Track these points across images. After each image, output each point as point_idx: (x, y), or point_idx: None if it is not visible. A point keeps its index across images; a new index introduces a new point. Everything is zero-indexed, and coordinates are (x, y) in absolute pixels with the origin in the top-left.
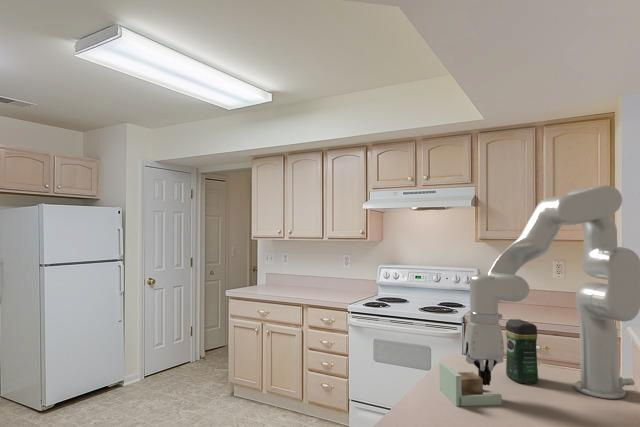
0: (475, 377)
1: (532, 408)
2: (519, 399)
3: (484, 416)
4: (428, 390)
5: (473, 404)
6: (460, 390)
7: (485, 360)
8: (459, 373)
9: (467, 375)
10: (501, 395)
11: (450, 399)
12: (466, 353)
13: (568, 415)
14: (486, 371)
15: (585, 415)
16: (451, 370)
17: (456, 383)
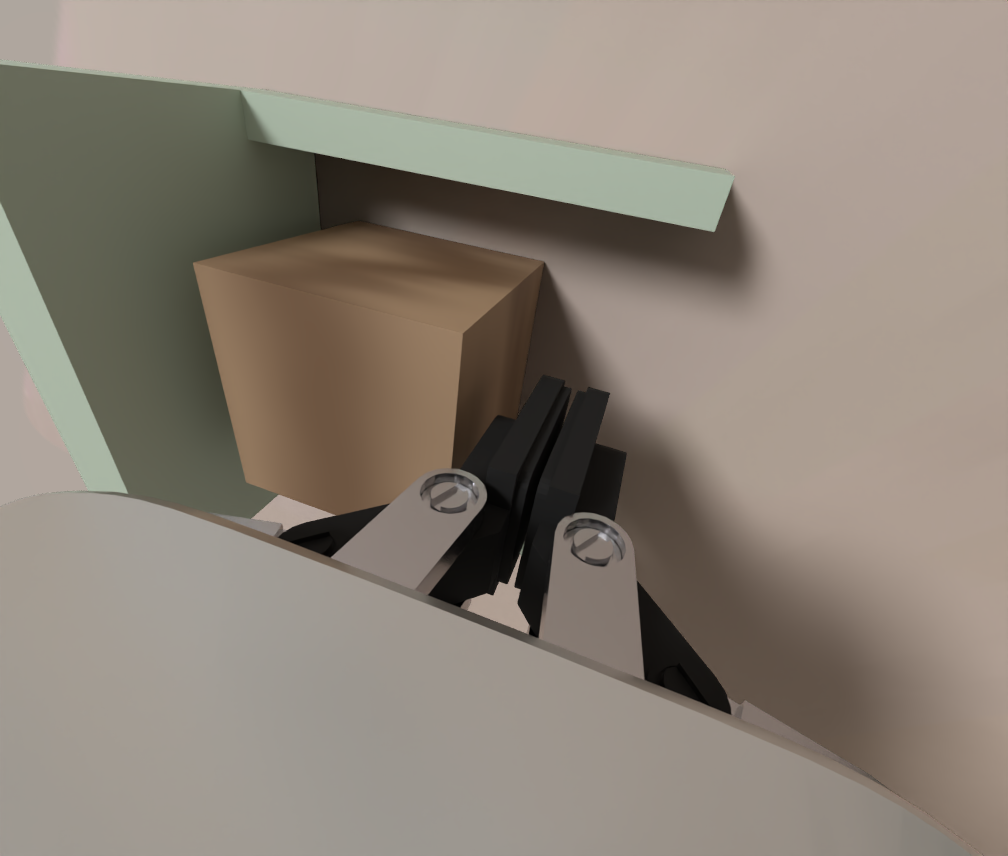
0: (391, 500)
1: (751, 639)
2: (839, 526)
3: None
4: (168, 63)
5: None
6: (261, 501)
7: (540, 636)
8: (262, 322)
9: (332, 420)
10: None
11: None
12: (53, 497)
13: (862, 764)
14: (517, 573)
15: (972, 812)
16: (85, 454)
17: None
